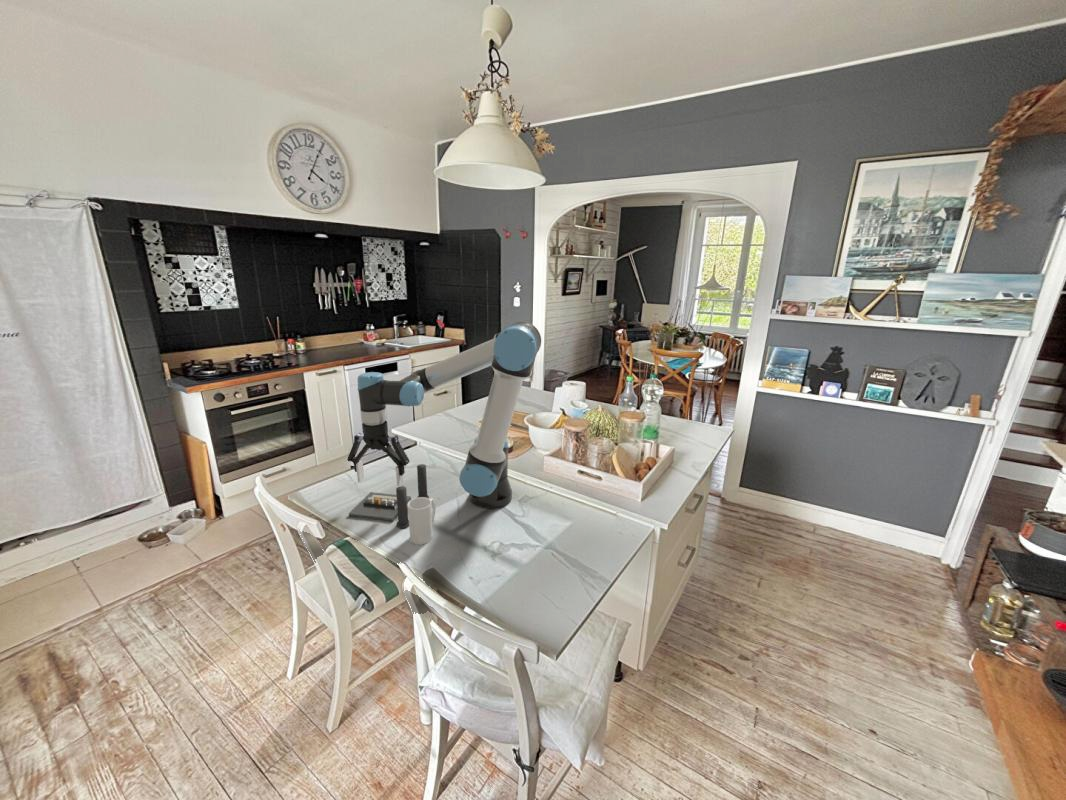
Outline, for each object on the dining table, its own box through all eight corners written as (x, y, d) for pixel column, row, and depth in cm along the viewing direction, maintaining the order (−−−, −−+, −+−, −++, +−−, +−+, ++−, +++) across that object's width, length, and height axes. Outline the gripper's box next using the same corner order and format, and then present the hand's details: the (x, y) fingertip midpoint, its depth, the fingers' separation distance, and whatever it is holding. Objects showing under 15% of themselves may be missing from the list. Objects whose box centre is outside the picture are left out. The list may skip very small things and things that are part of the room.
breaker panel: (411, 499, 148) (410, 491, 147) (392, 521, 134) (392, 512, 133) (370, 495, 150) (370, 487, 149) (348, 516, 136) (348, 507, 135)
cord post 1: (412, 522, 135) (410, 486, 131) (406, 529, 131) (404, 492, 127) (400, 520, 135) (397, 484, 131) (394, 527, 131) (392, 491, 128)
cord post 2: (430, 496, 150) (429, 464, 146) (426, 502, 146) (424, 469, 142) (419, 495, 150) (418, 463, 147) (415, 501, 147) (413, 468, 143)
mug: (421, 548, 122) (420, 511, 119) (404, 540, 125) (402, 505, 122) (444, 530, 131) (443, 496, 127) (427, 524, 134) (426, 490, 130)
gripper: (416, 419, 135) (421, 479, 141) (344, 415, 138) (351, 473, 144) (407, 428, 128) (411, 490, 134) (330, 423, 131) (338, 484, 137)
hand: (380, 482), depth 139 cm, fingers open, 13 cm apart
